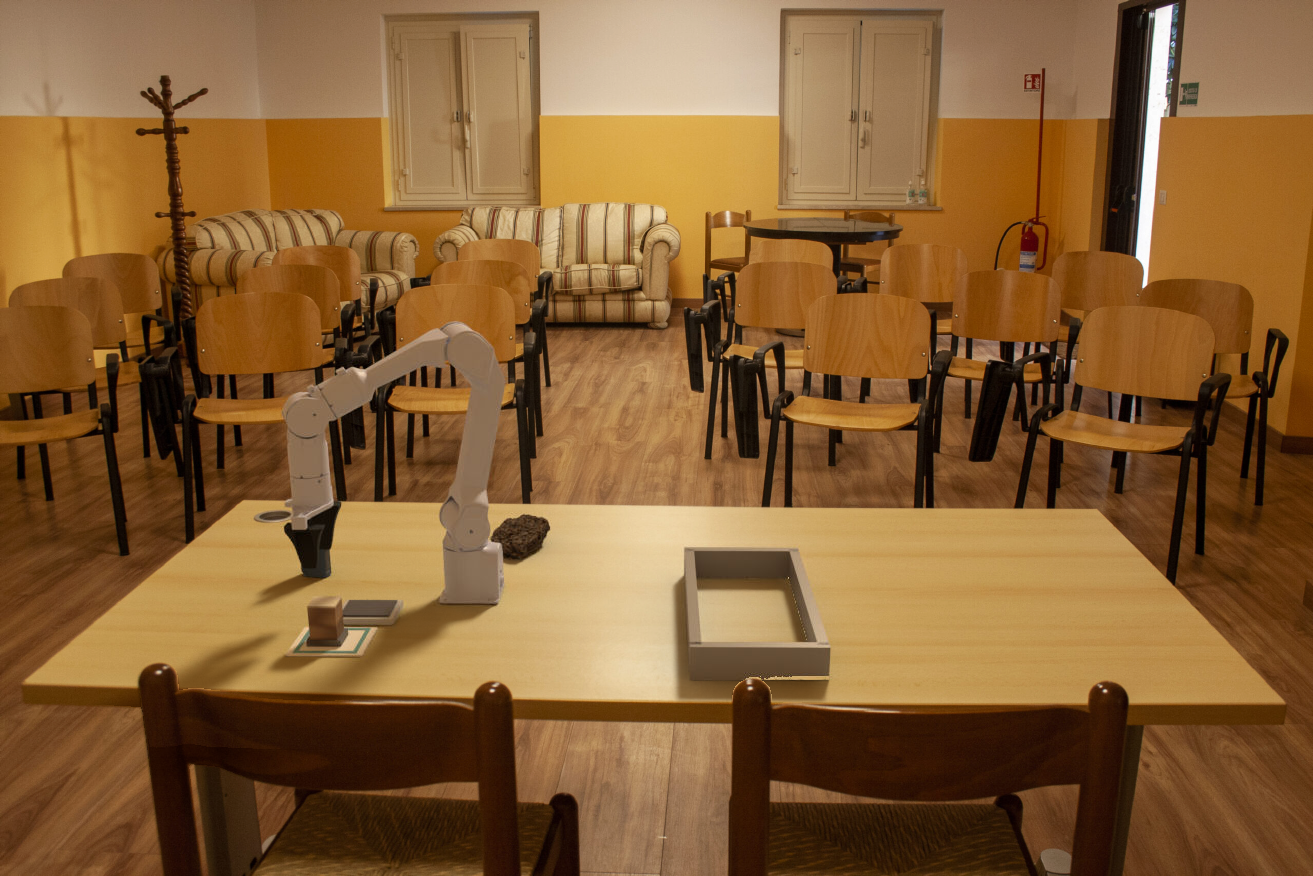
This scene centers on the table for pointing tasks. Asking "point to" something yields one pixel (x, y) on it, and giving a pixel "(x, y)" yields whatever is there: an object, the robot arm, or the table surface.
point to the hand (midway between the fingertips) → (317, 558)
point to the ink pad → (371, 612)
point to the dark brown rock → (521, 535)
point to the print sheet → (350, 648)
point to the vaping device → (320, 566)
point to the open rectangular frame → (753, 656)
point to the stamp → (326, 622)
